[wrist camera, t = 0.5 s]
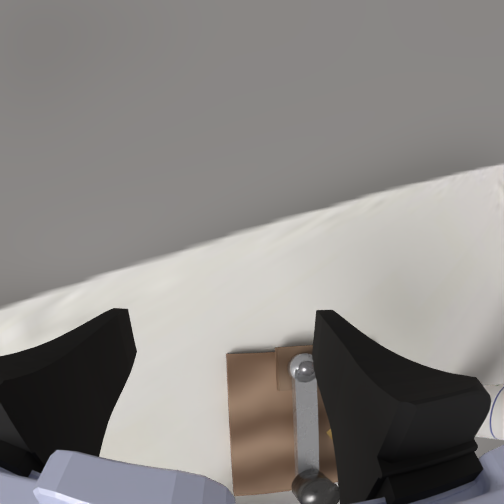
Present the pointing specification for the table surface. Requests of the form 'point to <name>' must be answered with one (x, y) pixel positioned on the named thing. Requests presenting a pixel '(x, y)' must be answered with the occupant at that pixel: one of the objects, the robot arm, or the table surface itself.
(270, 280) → the table surface
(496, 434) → the cylindrical container
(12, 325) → the table surface
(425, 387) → the robot arm
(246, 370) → the cracker board
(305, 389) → the lever
